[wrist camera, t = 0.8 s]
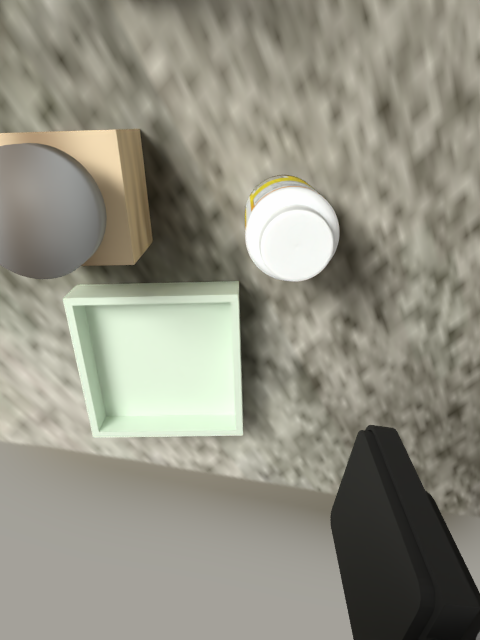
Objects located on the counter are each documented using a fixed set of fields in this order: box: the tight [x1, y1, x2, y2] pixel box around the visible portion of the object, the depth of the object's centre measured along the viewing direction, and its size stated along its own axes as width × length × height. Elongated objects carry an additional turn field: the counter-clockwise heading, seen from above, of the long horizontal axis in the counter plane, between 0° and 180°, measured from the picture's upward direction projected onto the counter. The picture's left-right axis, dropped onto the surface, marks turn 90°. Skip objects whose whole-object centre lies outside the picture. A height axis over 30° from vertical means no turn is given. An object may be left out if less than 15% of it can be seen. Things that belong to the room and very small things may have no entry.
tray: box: [63, 281, 243, 438], centre depth 36 cm, size 13×13×3 cm
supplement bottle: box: [245, 175, 339, 281], centre depth 27 cm, size 6×6×10 cm
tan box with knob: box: [0, 129, 153, 279], centre depth 27 cm, size 8×8×10 cm
